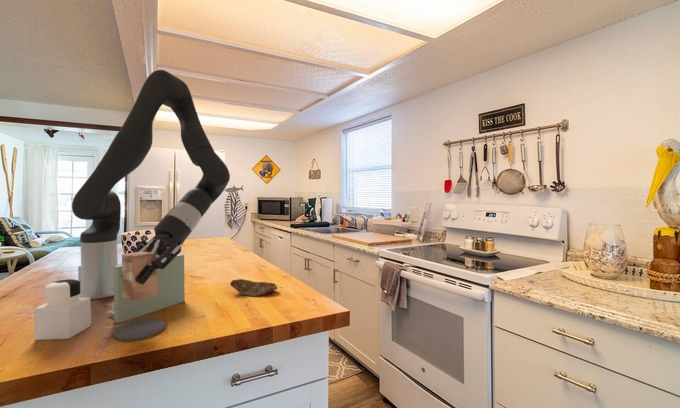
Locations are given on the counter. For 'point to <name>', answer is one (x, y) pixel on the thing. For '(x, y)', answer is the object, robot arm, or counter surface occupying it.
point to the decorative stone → (252, 287)
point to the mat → (139, 329)
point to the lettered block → (131, 269)
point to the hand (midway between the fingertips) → (131, 280)
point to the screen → (168, 295)
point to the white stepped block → (62, 311)
